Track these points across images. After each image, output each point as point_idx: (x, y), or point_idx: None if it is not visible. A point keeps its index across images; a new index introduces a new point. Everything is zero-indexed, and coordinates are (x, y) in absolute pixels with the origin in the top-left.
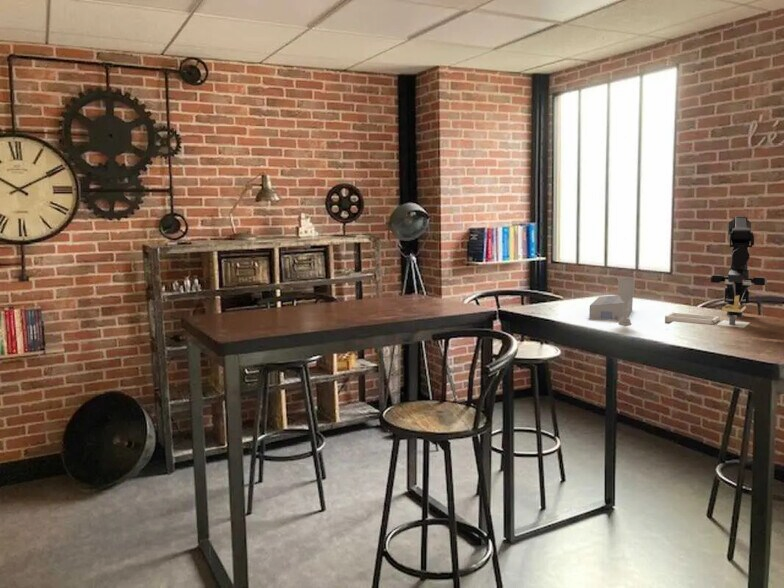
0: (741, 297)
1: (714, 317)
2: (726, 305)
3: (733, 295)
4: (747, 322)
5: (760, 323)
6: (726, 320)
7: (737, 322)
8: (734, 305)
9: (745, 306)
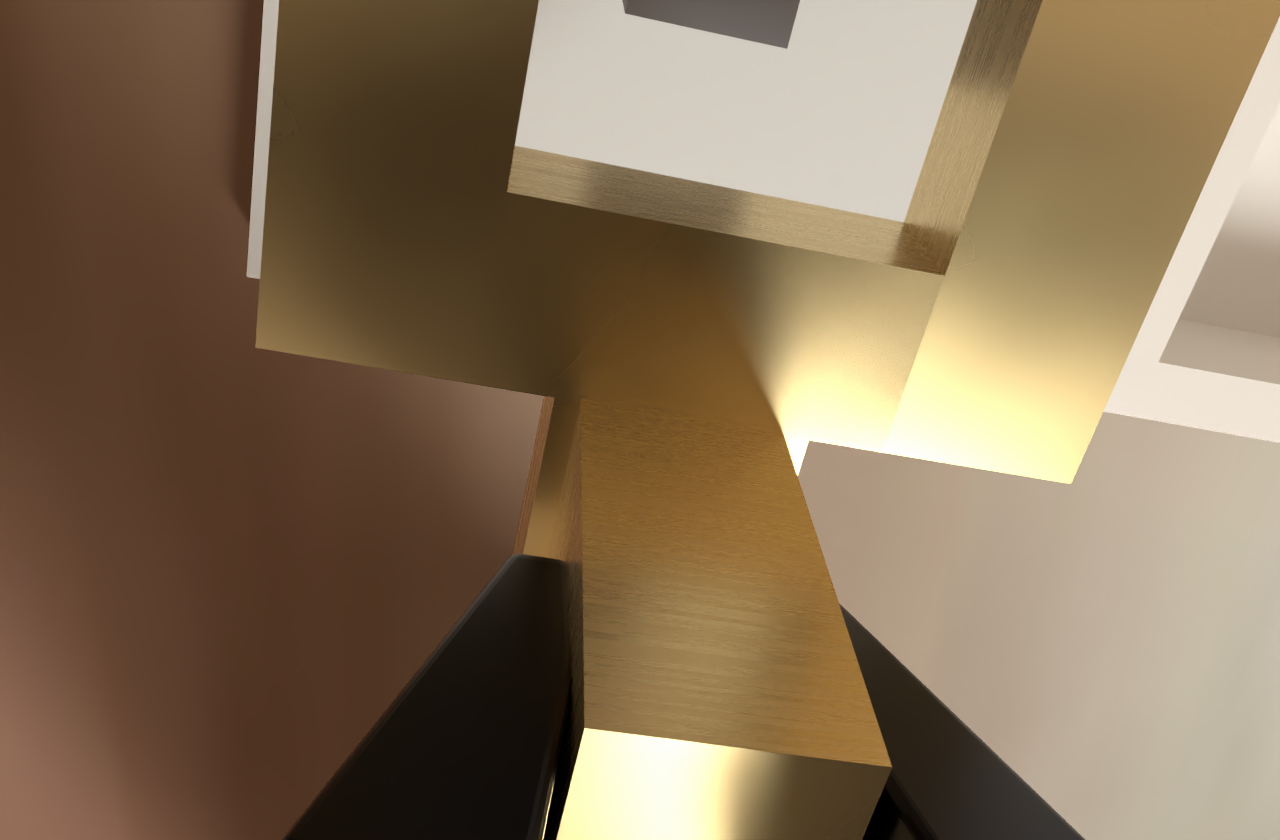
0: (431, 687)
1: (1197, 357)
2: (1210, 77)
3: (966, 820)
4: None
5: (62, 582)
6: None
7: (583, 131)
8: (787, 248)
9: (265, 293)
